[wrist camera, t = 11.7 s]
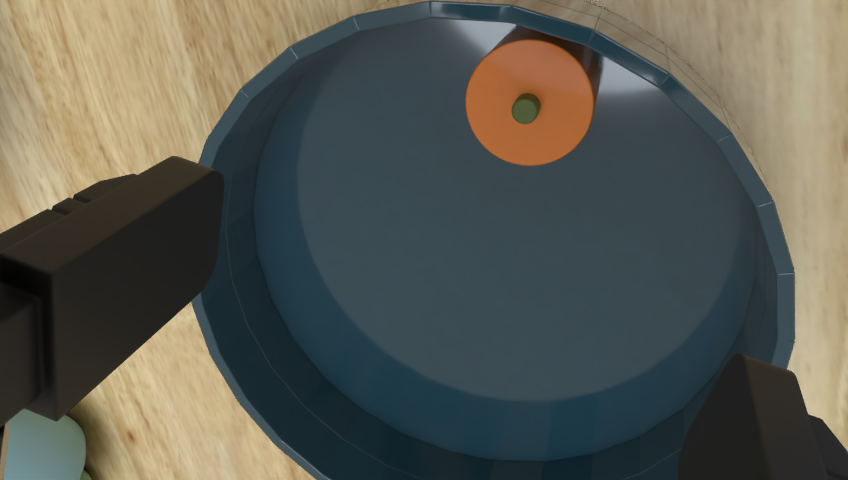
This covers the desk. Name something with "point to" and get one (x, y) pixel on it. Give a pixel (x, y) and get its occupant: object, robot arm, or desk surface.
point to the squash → (532, 97)
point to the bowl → (484, 256)
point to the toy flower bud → (45, 449)
